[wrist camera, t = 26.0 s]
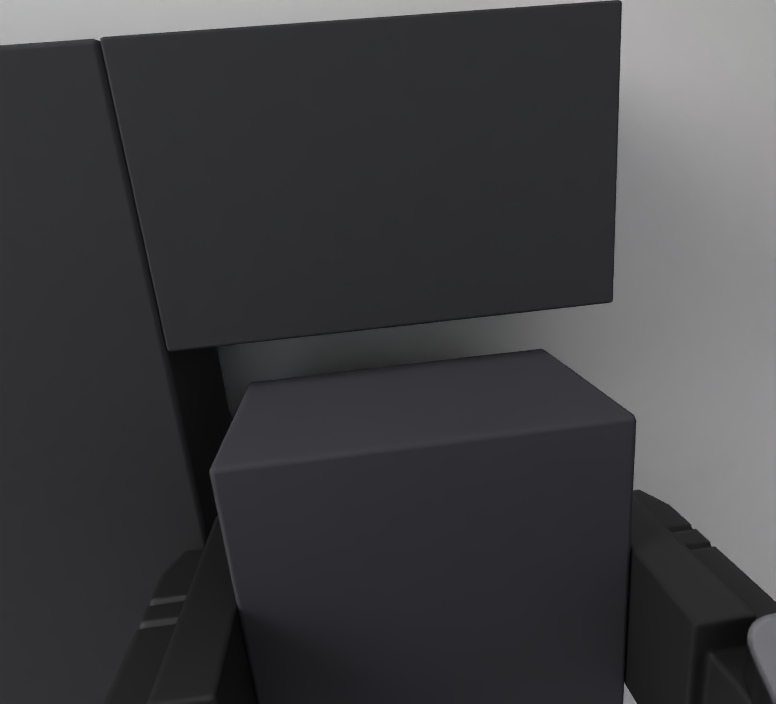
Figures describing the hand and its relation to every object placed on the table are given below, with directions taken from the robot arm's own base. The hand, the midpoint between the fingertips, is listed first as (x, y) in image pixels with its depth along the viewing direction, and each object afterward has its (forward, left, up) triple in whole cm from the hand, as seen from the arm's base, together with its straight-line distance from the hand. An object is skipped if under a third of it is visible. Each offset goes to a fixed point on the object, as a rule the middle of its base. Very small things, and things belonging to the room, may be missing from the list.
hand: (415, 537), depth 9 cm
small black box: (0, 0, -1) cm, 1 cm away
